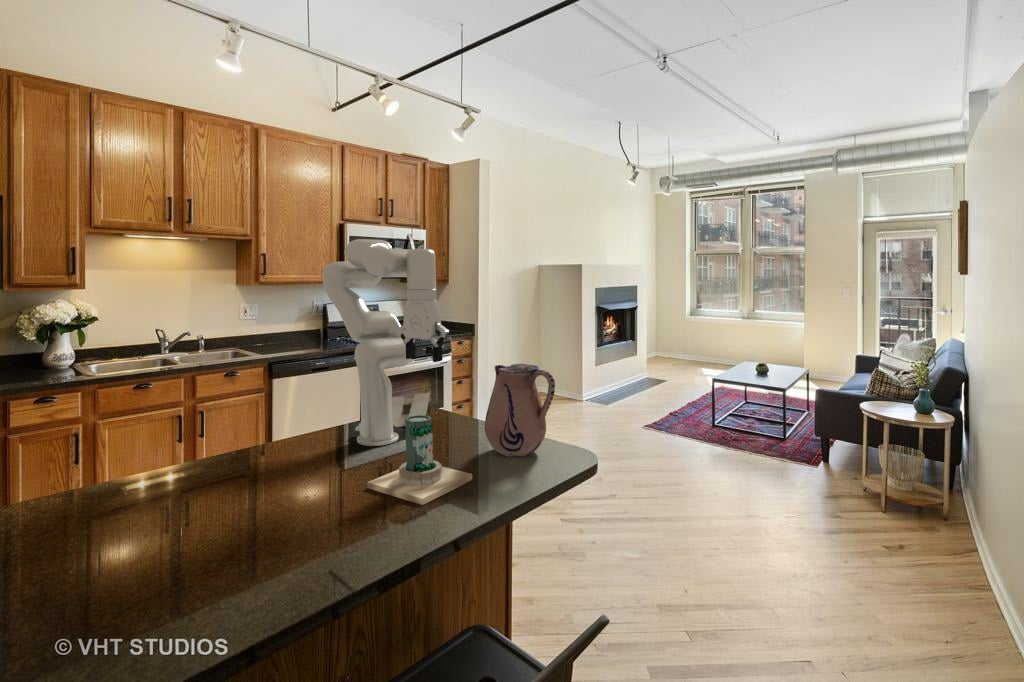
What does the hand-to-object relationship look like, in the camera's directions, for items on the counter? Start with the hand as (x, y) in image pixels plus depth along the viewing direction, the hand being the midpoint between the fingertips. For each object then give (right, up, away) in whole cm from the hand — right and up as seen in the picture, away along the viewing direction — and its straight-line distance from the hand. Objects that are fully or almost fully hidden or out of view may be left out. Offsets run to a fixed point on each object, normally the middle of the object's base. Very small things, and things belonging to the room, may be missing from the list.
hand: (424, 359), depth 149 cm
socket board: (+1, -30, -13) cm, 33 cm away
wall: (-13, -24, +43) cm, 51 cm away
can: (+1, -29, -13) cm, 31 cm away
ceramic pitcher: (+26, -27, +10) cm, 39 cm away
